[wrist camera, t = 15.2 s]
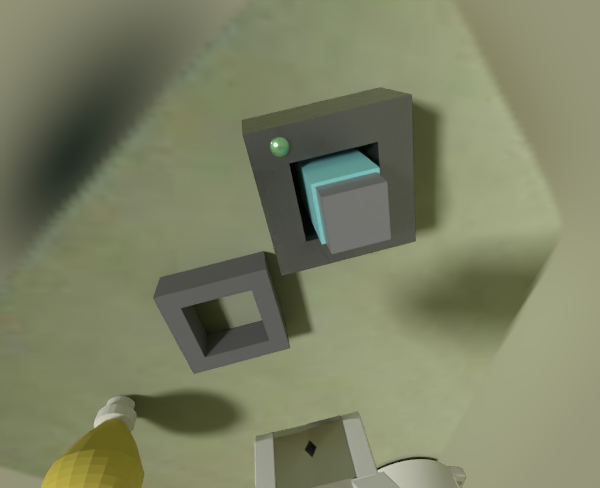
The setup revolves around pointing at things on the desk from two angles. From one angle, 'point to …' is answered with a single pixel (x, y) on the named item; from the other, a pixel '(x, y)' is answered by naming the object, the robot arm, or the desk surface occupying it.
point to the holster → (212, 285)
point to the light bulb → (102, 453)
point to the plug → (345, 199)
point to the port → (324, 140)
